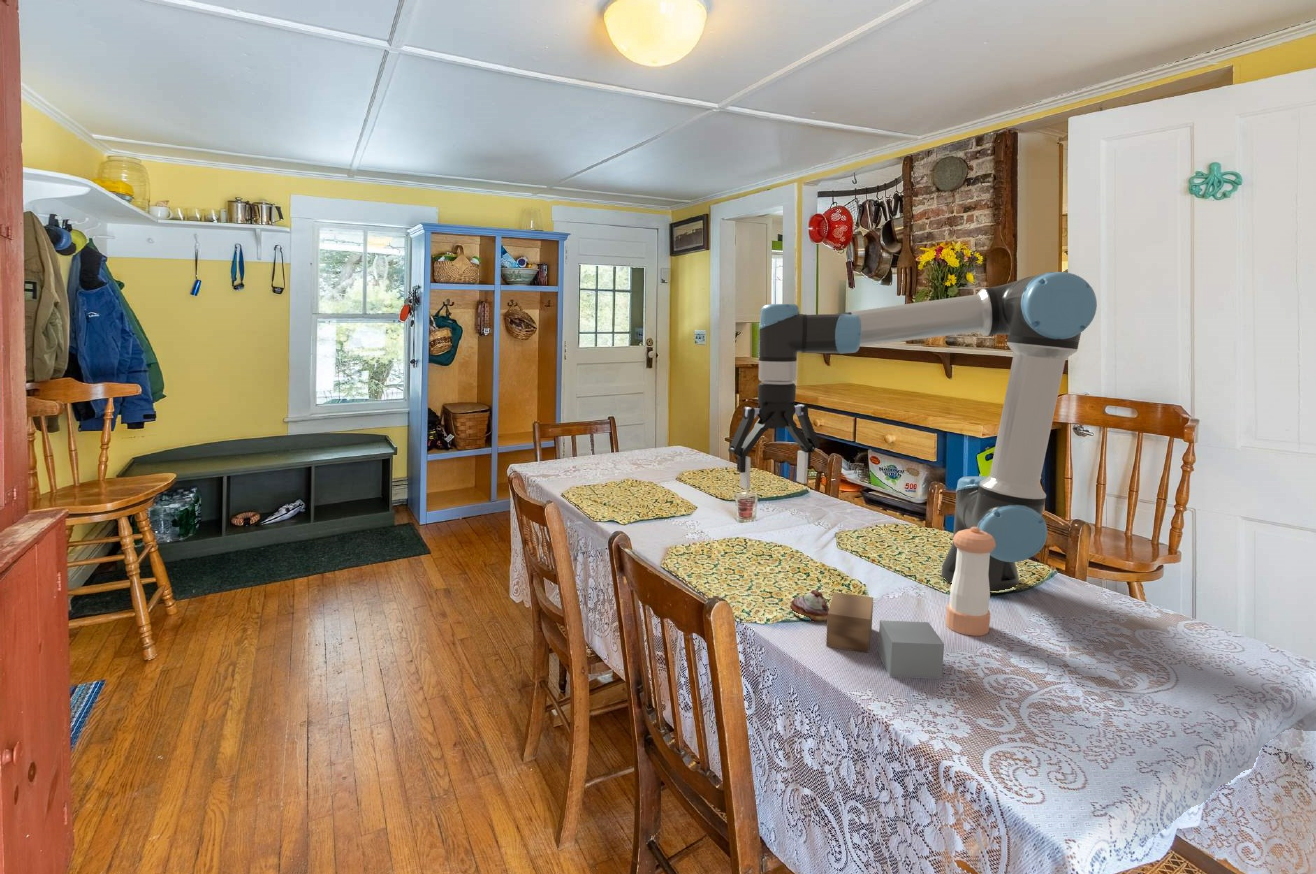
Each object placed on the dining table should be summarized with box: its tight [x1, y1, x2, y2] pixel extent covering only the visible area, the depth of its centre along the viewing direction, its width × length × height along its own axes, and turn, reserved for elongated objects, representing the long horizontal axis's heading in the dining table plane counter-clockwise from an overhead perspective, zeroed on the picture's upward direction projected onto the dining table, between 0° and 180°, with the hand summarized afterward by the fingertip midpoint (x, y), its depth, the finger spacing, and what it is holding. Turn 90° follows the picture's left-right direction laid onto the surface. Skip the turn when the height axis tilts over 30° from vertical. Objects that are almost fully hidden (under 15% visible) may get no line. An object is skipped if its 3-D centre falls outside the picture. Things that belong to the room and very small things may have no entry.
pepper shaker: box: [945, 527, 996, 637], centre depth 124 cm, size 7×7×19 cm
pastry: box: [789, 589, 830, 623], centre depth 131 cm, size 8×8×5 cm
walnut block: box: [825, 591, 874, 654], centre depth 121 cm, size 7×10×6 cm
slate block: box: [877, 620, 945, 680], centre depth 111 cm, size 8×8×6 cm
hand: (773, 485), depth 140 cm, fingers open, 13 cm apart
